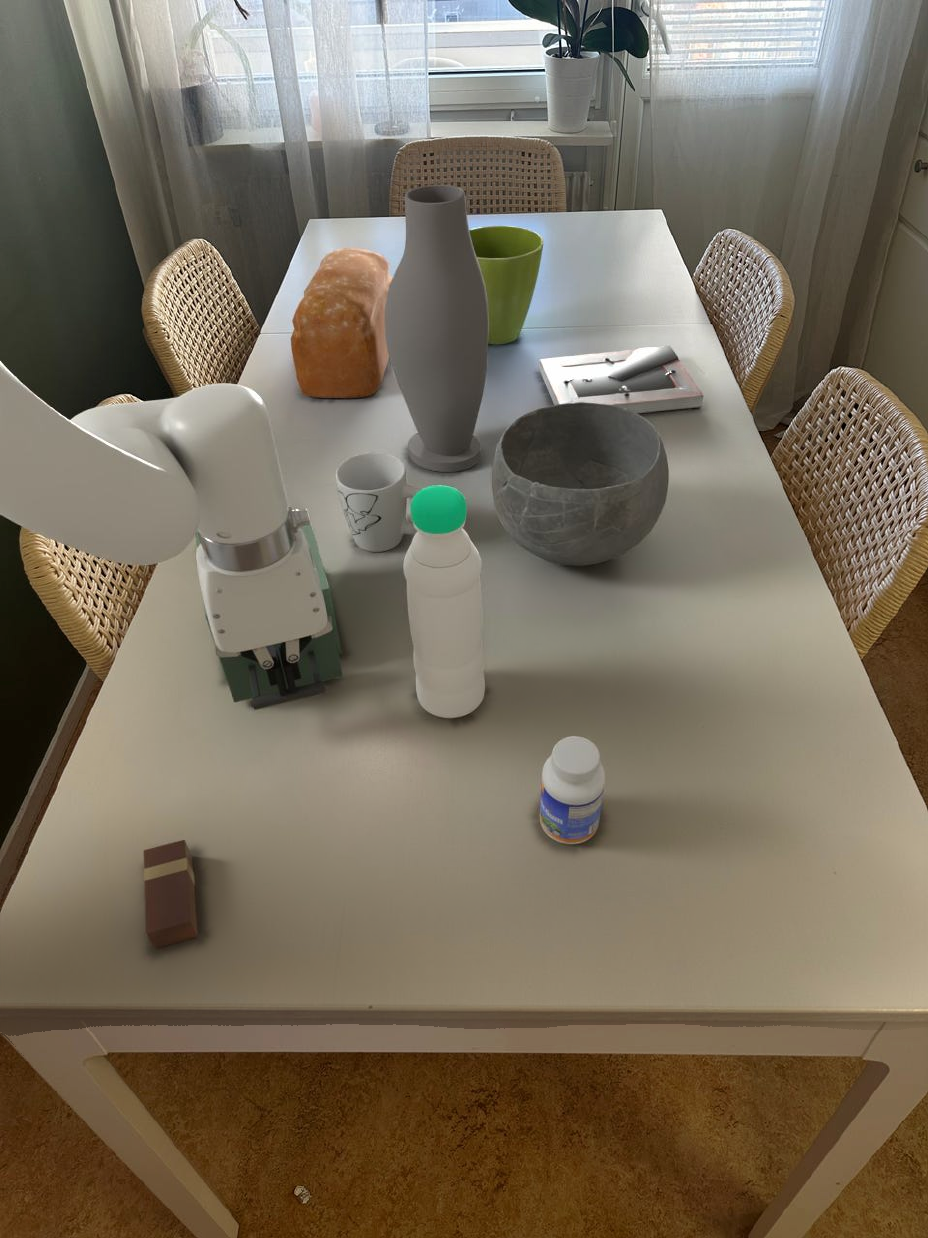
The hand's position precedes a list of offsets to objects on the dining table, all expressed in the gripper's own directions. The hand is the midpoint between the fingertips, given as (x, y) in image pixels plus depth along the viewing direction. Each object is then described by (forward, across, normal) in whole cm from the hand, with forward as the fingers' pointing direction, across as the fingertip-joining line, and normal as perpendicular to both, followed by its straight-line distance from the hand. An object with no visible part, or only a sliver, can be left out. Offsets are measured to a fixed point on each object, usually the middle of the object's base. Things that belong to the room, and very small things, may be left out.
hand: (286, 684), depth 84 cm
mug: (+6, -16, -27) cm, 32 cm away
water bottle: (+6, -16, +1) cm, 17 cm away
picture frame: (+6, -59, -52) cm, 78 cm away
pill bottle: (+6, -22, +20) cm, 30 cm away
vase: (+6, -28, -43) cm, 52 cm away
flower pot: (+6, -48, -77) cm, 90 cm away
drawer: (+5, 0, -8) cm, 9 cm away
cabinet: (+6, 0, -16) cm, 17 cm away
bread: (+6, -21, -76) cm, 80 cm away
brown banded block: (+6, +13, +16) cm, 22 cm away
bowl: (+6, -38, -18) cm, 42 cm away
